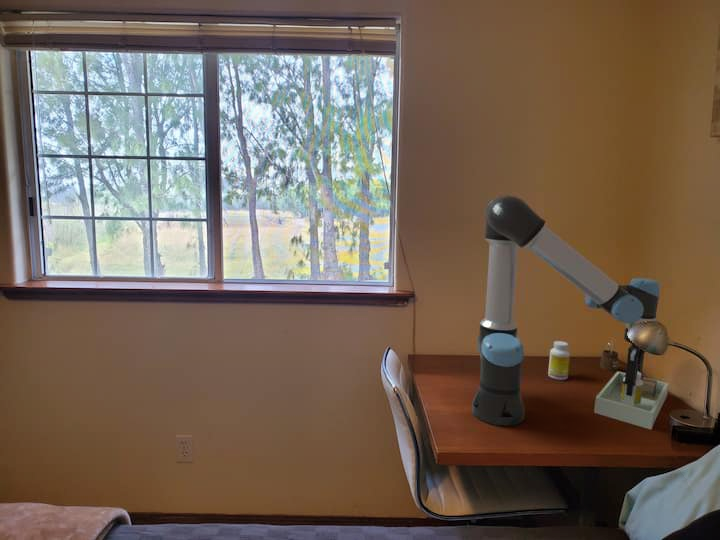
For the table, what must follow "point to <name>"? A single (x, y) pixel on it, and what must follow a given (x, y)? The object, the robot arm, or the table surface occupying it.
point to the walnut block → (647, 388)
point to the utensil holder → (609, 359)
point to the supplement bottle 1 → (559, 361)
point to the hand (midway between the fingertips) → (630, 401)
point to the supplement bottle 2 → (638, 390)
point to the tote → (638, 414)
